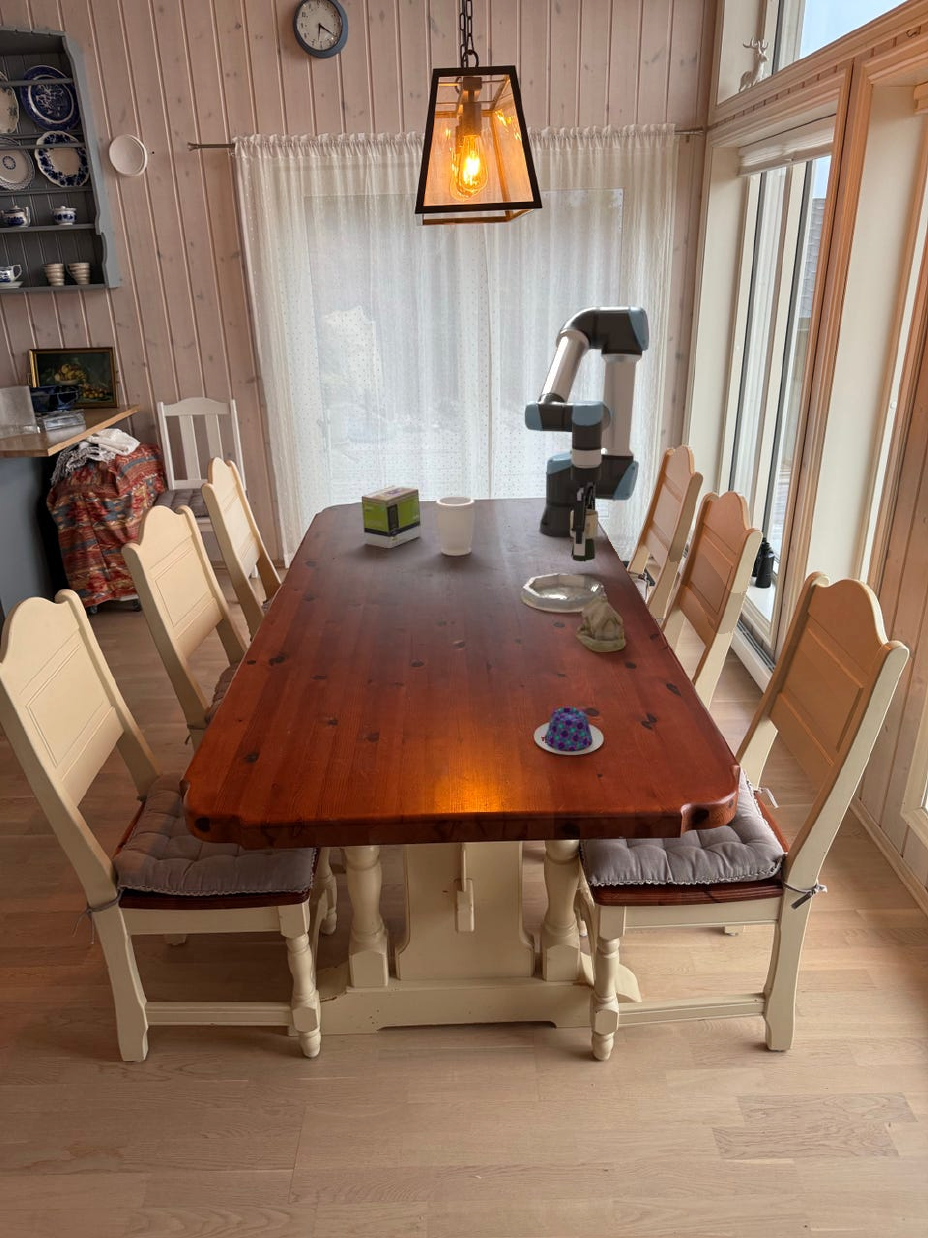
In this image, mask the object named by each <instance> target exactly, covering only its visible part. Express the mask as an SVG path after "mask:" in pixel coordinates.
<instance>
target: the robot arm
mask: <svg viewBox="0 0 928 1238" xmlns="http://www.w3.org/2000/svg"><path fill="white" fill-rule="evenodd" d="M555 347H556V350H555V352H554V356H553V357H552V361H551V364H550V367H549V369H548V372H547V375H546V378H545V381H544V383H543V387H542V389H541V392H540V394H539V398H538V401H537V400H533V401H529V402H527V404H526V405H525V409H524V425H525V427H526V429H528V430H529V431H537V432H553V433H554V432H555V433H556V432H557V433H560V432H562V433H564V432H565V433H571V450H569V452H563V453H558V454H555V455H553V456H551V457H549V458H548V460H547V462H546V471H545V479H546V480H545V483H546V484H545V506H544V510H543V513H542V516H541V519H540V521H539V531H540V532H541V533H542V534H545V535H547V536H552V537H560V538H563V537H564V538H573V542H574V555H580V556H584V555H585V531H584V530H585V529H584V528H585V520H586V513H587V509H592V510H596V500H603V501H605V500H606V501H613V502H616V501H628V500H629V499H631V497H632V496H633V493H634V491H635V487H636V484H637V480H638V476H639V467H640V464H639V462H638V461H637V460H634V459H635V454H634V453H633V452H632V451H631V449H630V443H631V442H630V441H631V430H632V428H631V427H632V420H633V418H632V416H633V406H634V396H635V395H634V394H635V380H636V369H637V368H636V367H637V363H638V362H639V361H640V360H641V359H642V357H643V352H646V351H647V350H649V348H650V327H649V319H648V314H647V312H646V310H645V309H644V308H643V307H641V306H640V307H639V306H630V305H629V306H591V307H586V308H583V309H581V310H579V311H577V312H576V313H575V314H573V315H571V317H570V318H568V320H566V322H565V323H563V325H562V327H561V328H560V329H559V331H558V333H557V337H556V339H555ZM590 350H595V351H596V350H600V351H601V352H600V357H601V358H602V359H603V360H604V362H605V369H604V370H605V371H604V382H603V396H602V401H600V400H597V401H596V400H582V401H577V402H568V401H569V398H570V395H571V392H572V389H573V385H574V383H575V379H576V377H577V374H578V372H579V367H580V365H581V362H582V360H583V359H582V358H583V357H584V356H586V354H588V351H590ZM573 510H574V515H573V528H571V521H570V519H571V511H573ZM577 526H580V527H577ZM570 529H571V531H574V537H572V536H571V534H570Z"/></svg>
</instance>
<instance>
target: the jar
mask: <svg viewBox="0 0 928 1238" xmlns="http://www.w3.org/2000/svg"><path fill="white" fill-rule="evenodd" d="M474 505H475V500H474V499H473V498H471V497H465V496H446V497H441V498H438V499H437V500H436V506H437V507H438V508H437V513H436V529H437V531H438V539H439V541H440V544H441V546H442V548H441V553H442V554H443V555H446V556H451V557H453V556H454V557H455V556H456V557H457V556H458V557H459V556H466V555H468V554H470V553H472V549H471V546H470V545H471V544H472V542H473V536H474V530H475V512H474V508H473V506H474Z"/></svg>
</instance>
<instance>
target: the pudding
mask: <svg viewBox="0 0 928 1238" xmlns="http://www.w3.org/2000/svg"><path fill="white" fill-rule="evenodd" d="M541 737H545V739H544V741H542V738H541ZM533 738H534V741H535V743H536V744H537V745H538V746H539V747H540V748H542V749H544V750H546V751H548V752H552V753H554V754H558V755H567V756H572V755H573V756H577V755H583V754H587V753H588V754H589V753H592V752H593V751H595V750H597V749H598V748H600V747H601V746H602V744H603V743H604V739H605V738H604V735H603V733H602V732H601V730H600V729H598V728H597V727H595V726H594V725H592V724H589V719H588V716H587V715H586V713H584V711H583V710H582V709H579V708H576V707H573V706H571V707H570V706H569V707H561V708H558V709H556V710H554V711H553V712H552V715H551V718H550V720H549V722H546V723H544V724H542V725H541V726H539V727H537V729H536V730H535V731H534V734H533ZM545 742H546V743H545ZM590 743H591V744H590ZM565 750H566V751H565Z"/></svg>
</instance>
